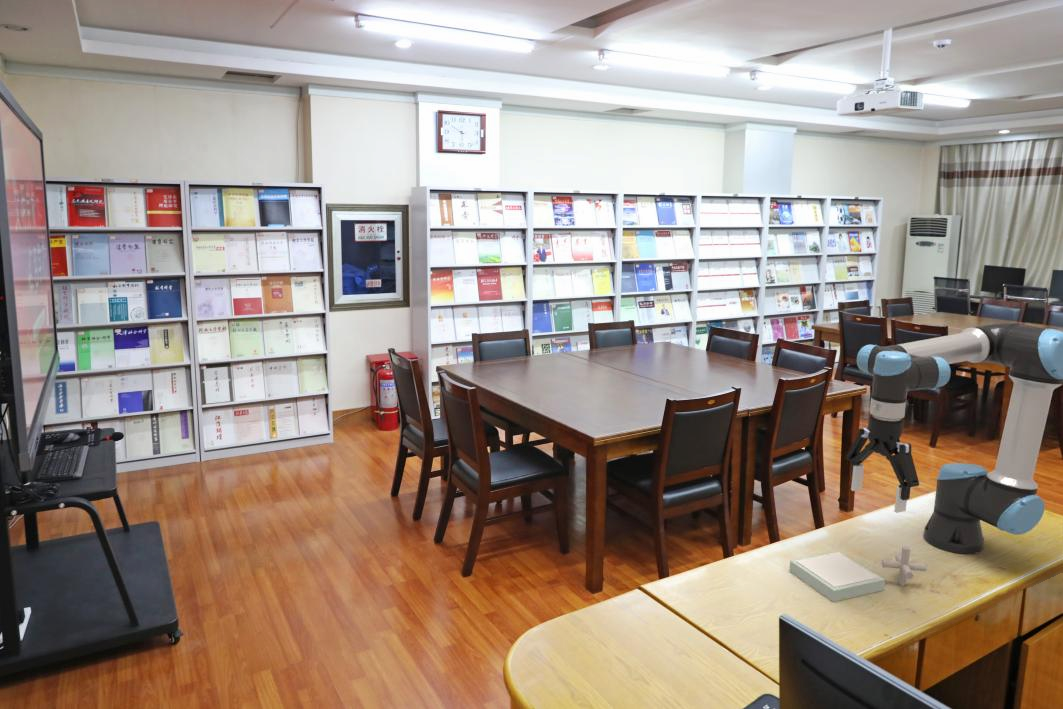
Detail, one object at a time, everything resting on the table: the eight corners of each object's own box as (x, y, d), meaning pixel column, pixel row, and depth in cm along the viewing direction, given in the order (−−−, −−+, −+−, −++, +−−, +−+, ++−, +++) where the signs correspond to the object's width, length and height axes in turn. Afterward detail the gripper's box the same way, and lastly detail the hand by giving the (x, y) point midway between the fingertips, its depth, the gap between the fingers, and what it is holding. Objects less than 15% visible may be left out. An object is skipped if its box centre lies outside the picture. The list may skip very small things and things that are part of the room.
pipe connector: (928, 596, 185) (933, 559, 183) (885, 591, 187) (890, 554, 185) (916, 576, 194) (921, 540, 192) (876, 572, 196) (880, 537, 194)
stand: (837, 561, 202) (838, 550, 201) (883, 590, 187) (885, 578, 187) (789, 571, 196) (790, 559, 196) (833, 601, 182) (834, 589, 181)
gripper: (835, 404, 187) (828, 483, 191) (918, 434, 164) (907, 523, 168) (859, 401, 189) (851, 479, 194) (943, 430, 166) (932, 518, 171)
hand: (877, 500), depth 181 cm, fingers open, 13 cm apart
